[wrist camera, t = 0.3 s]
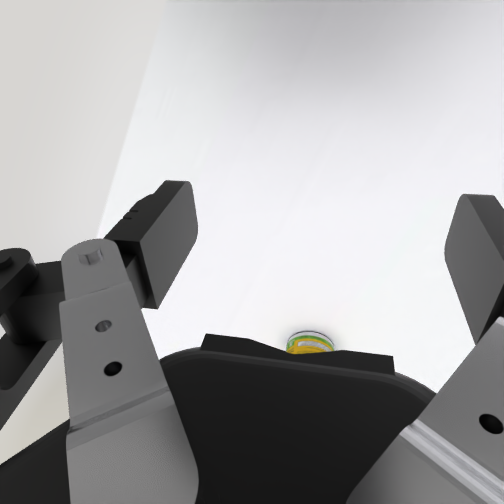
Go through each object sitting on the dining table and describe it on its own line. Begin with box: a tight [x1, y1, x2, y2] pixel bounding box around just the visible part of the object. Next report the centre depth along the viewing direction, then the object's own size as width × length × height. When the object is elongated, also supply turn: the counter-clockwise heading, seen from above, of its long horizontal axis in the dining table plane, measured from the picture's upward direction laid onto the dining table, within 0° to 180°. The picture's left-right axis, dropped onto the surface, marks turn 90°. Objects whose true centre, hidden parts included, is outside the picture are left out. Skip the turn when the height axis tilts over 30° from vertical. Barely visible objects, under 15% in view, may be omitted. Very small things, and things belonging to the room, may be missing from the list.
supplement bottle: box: [286, 332, 334, 354], centre depth 40 cm, size 5×5×10 cm
